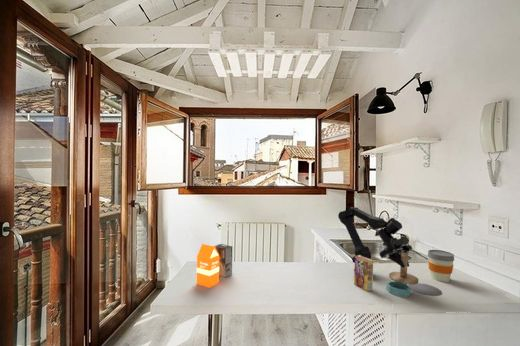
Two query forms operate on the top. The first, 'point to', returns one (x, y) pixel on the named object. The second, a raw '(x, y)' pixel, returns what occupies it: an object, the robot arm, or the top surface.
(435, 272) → the reusable coffee cup
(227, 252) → the coffee box
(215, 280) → the orange juice
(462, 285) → the top surface
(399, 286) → the bowl
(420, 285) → the mat
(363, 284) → the candy box
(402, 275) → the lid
